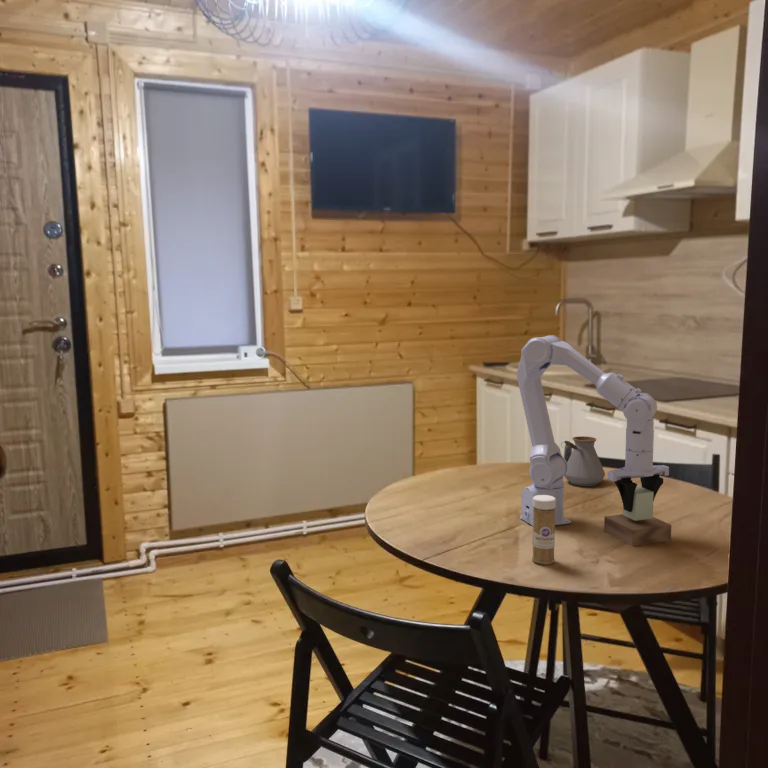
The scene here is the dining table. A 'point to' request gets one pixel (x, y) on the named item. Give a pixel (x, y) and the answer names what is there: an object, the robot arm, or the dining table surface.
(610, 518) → the walnut block
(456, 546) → the dining table surface
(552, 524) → the sprinkles bottle
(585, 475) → the coffee pot
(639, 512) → the sage block
